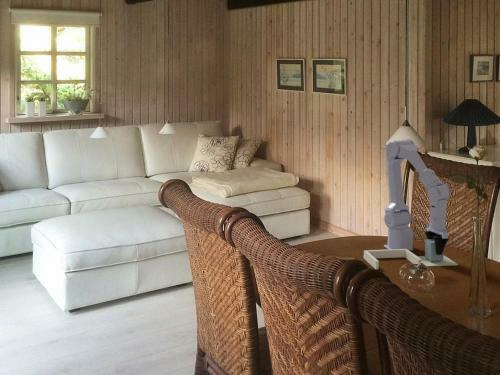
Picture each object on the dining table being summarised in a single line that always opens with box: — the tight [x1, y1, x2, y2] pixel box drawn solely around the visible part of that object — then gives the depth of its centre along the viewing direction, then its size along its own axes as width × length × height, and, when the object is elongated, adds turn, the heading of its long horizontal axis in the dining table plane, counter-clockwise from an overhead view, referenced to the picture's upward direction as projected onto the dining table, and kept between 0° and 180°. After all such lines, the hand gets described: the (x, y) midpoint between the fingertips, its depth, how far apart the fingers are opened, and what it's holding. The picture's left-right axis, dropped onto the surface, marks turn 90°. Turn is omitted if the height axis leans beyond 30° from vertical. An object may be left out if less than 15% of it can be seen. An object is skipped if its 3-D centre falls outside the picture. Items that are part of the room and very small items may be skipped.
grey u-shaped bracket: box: [363, 249, 422, 270], centre depth 226 cm, size 17×14×3 cm
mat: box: [416, 255, 459, 268], centre depth 228 cm, size 12×12×1 cm
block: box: [424, 238, 445, 261], centre depth 227 cm, size 5×5×7 cm
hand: (435, 252), depth 227 cm, fingers closed on block, 5 cm apart
